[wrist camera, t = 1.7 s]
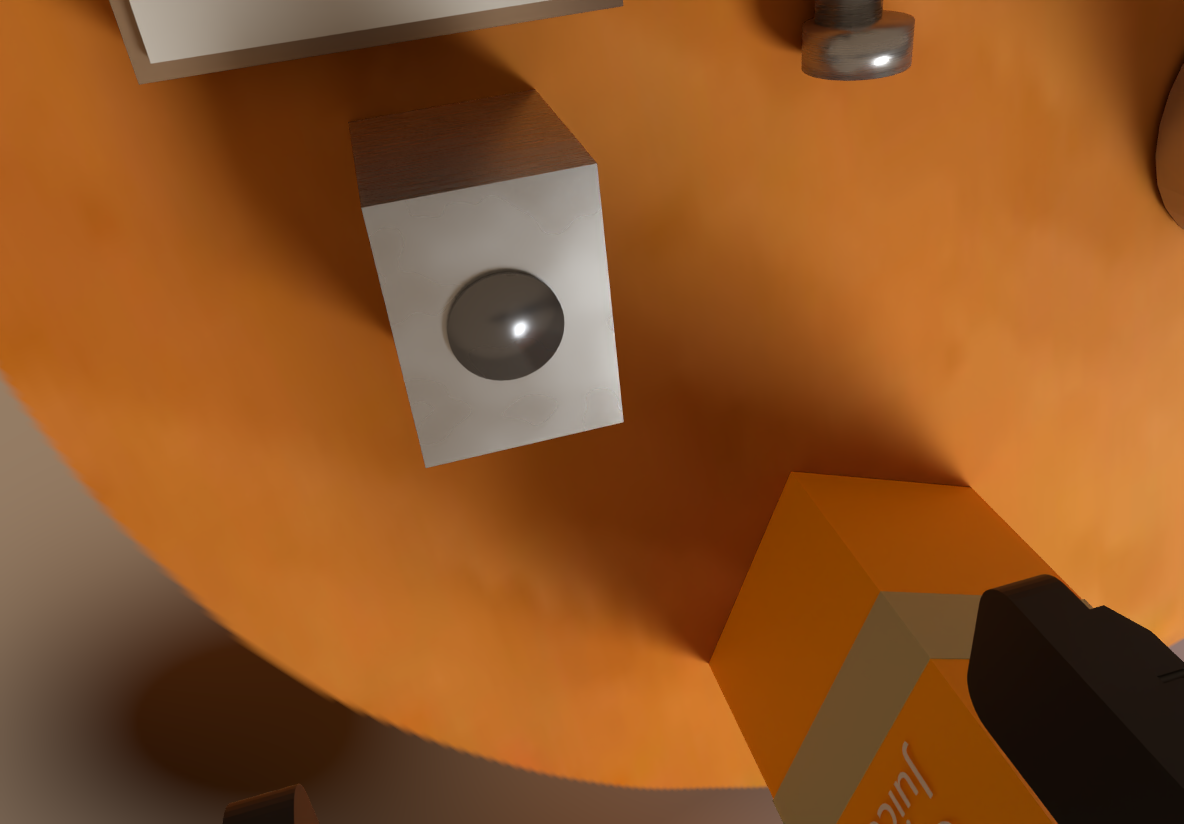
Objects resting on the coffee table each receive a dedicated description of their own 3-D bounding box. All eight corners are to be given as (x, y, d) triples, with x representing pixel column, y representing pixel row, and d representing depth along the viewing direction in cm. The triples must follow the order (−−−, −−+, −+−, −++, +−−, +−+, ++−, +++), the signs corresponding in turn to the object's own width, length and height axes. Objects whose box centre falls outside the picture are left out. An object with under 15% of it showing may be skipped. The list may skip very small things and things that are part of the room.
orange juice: (704, 664, 36) (1049, 1391, 19) (788, 468, 32) (1312, 1175, 15) (879, 666, 38) (1311, 1304, 22) (976, 485, 34) (1595, 1102, 18)
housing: (534, 89, 23) (598, 165, 18) (563, 308, 27) (625, 425, 22) (348, 121, 23) (361, 210, 18) (401, 342, 26) (426, 471, 21)
